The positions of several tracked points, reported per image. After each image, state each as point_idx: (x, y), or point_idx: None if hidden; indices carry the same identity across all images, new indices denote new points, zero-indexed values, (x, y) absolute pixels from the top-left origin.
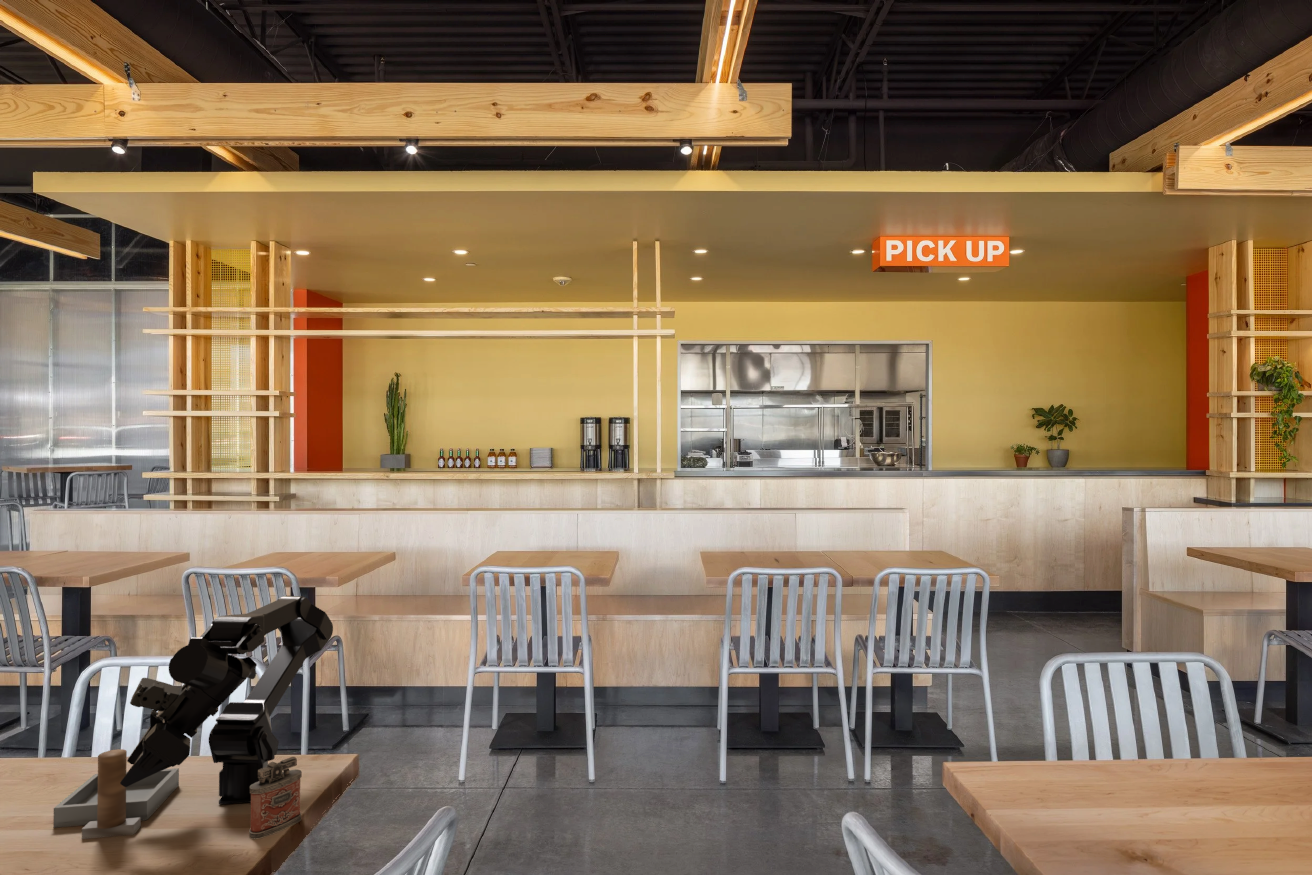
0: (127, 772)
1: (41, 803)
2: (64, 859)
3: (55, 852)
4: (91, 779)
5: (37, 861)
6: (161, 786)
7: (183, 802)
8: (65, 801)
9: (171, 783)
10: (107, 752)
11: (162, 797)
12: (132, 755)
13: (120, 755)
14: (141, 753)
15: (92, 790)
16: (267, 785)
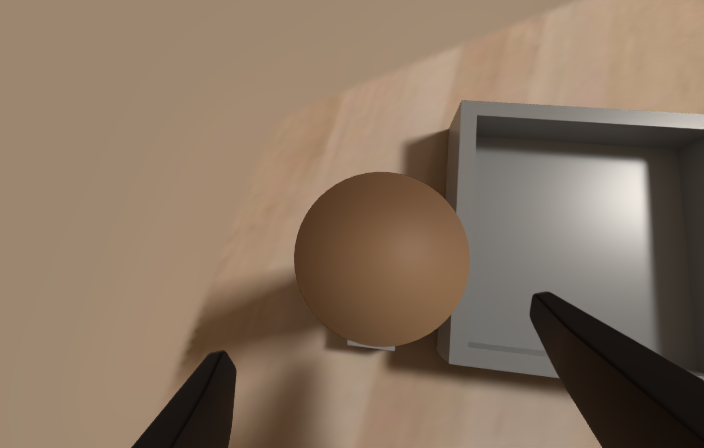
0: (186, 401)
1: (614, 45)
2: (259, 217)
3: (304, 184)
4: (683, 122)
5: (270, 163)
6: None
7: (548, 435)
8: (504, 113)
9: None
10: (417, 212)
11: None
12: (556, 321)
13: (326, 323)
14: (575, 372)
15: (649, 143)
16: None
